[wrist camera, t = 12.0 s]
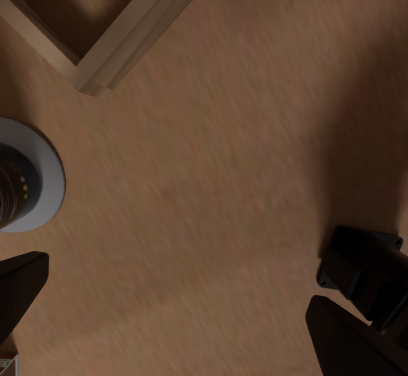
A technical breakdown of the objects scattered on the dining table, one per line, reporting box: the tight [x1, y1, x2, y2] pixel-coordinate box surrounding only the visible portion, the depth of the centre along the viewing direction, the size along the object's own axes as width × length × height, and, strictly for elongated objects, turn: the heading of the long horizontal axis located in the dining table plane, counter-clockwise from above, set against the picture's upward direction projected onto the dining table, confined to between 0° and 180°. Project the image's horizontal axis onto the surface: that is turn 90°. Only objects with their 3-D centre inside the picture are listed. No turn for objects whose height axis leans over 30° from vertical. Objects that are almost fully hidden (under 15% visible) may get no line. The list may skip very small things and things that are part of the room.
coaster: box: [0, 117, 66, 233], centre depth 19 cm, size 10×10×1 cm
